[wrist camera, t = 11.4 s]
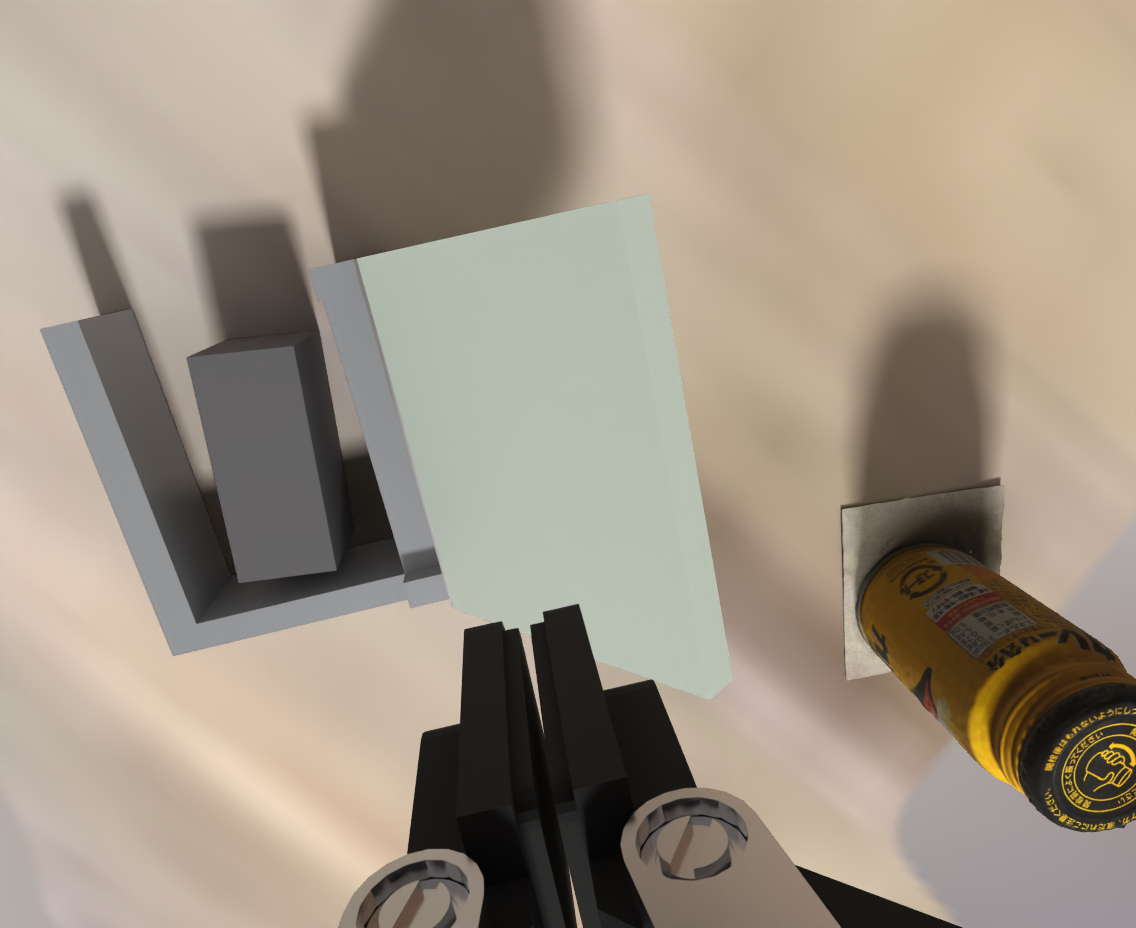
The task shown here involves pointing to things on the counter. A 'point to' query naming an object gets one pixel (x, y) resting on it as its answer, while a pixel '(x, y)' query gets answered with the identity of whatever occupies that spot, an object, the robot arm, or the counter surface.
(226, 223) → the counter surface
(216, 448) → the gray rectangular prism
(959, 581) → the condiment
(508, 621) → the lid
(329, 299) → the grey u-shaped block
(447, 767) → the robot arm
